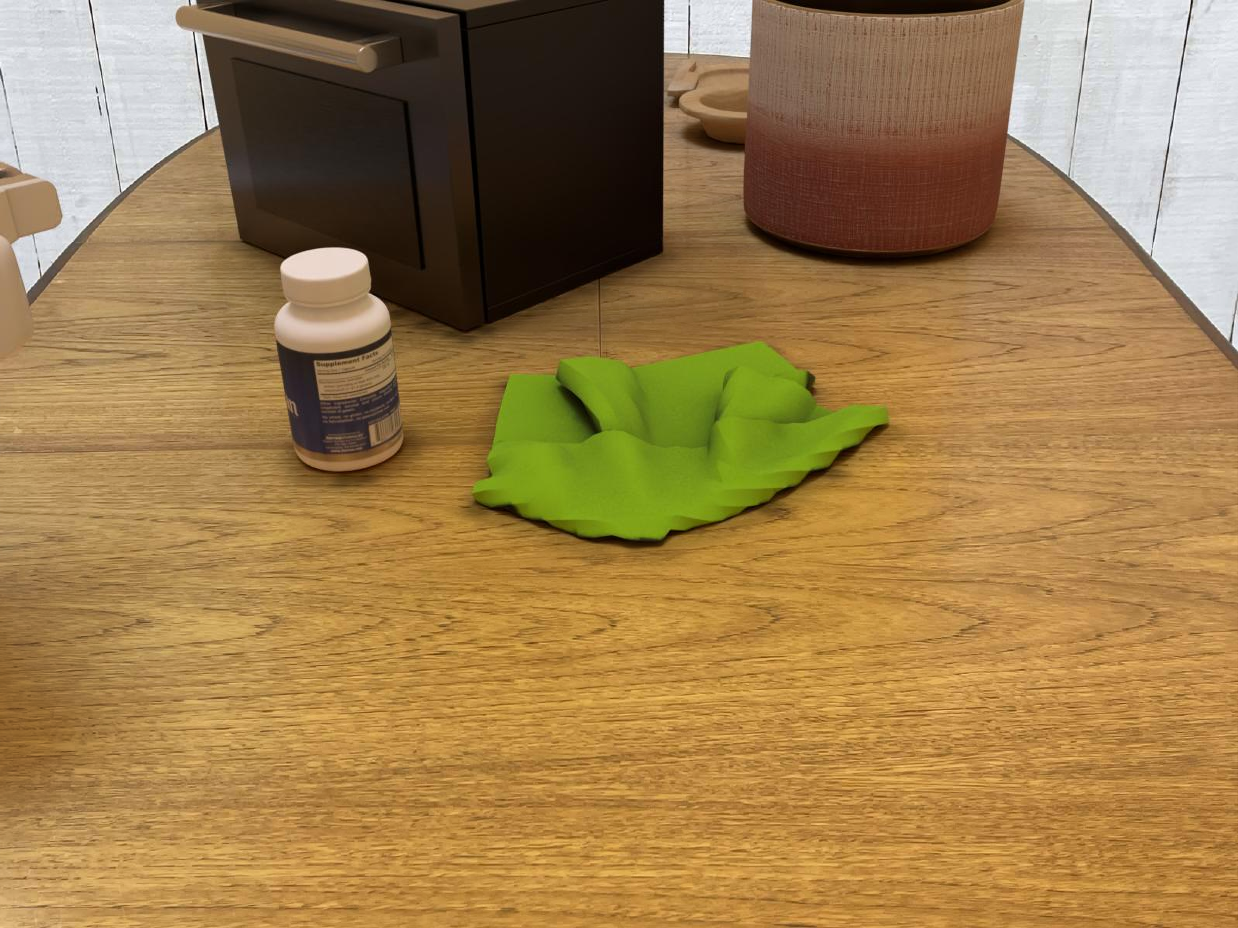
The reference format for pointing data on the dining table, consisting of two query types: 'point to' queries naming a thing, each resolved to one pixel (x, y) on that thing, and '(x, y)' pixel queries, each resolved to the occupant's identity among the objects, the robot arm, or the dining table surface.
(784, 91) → the planter
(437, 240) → the oven door
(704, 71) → the tableware set
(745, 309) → the dining table surface
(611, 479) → the cloth
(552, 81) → the oven
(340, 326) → the pill bottle
